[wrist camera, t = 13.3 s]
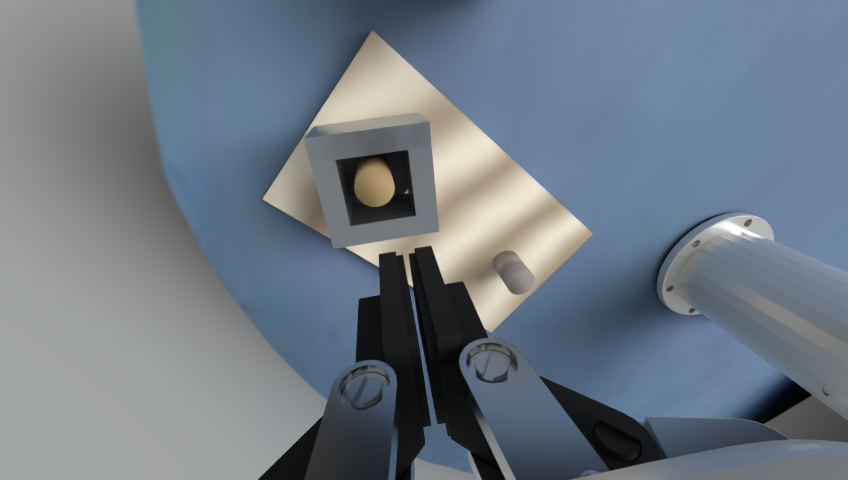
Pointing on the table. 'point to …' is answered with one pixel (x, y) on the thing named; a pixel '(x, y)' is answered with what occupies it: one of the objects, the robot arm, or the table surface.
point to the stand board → (440, 189)
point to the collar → (369, 138)
